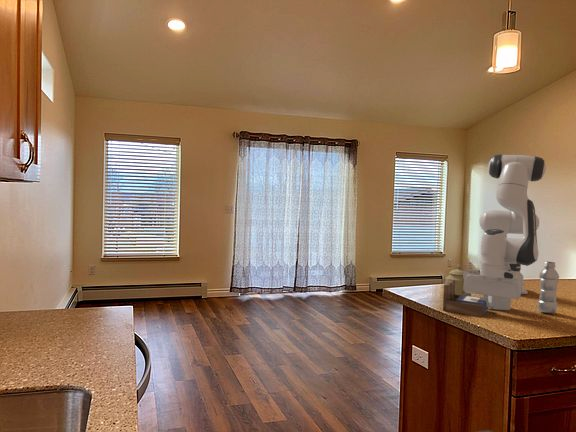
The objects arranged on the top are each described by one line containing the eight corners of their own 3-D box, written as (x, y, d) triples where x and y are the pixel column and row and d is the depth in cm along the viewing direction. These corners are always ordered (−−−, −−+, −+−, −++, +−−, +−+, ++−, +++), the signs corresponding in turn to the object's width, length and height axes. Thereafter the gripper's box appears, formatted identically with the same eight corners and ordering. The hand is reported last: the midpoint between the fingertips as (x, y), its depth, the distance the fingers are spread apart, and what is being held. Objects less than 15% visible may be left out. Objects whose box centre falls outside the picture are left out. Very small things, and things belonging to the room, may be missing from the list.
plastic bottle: (538, 309, 177) (541, 260, 176) (558, 313, 173) (560, 262, 172) (535, 312, 172) (538, 262, 172) (555, 316, 168) (558, 264, 167)
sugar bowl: (484, 299, 193) (485, 265, 193) (468, 302, 187) (470, 267, 187) (455, 293, 206) (456, 261, 205) (439, 295, 200) (441, 262, 199)
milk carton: (510, 310, 175) (512, 263, 174) (491, 309, 176) (493, 262, 175) (504, 306, 182) (506, 260, 181) (486, 305, 183) (488, 259, 182)
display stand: (451, 303, 185) (452, 279, 185) (487, 308, 178) (488, 283, 178) (442, 310, 172) (443, 285, 172) (482, 316, 165) (483, 289, 164)
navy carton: (459, 307, 180) (460, 295, 179) (486, 311, 175) (487, 298, 174) (455, 312, 172) (456, 299, 172) (483, 316, 167) (484, 303, 167)
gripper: (462, 269, 172) (460, 304, 173) (521, 275, 162) (519, 313, 162) (464, 267, 178) (463, 301, 178) (522, 273, 167) (520, 309, 168)
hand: (490, 307), depth 170 cm, fingers closed
